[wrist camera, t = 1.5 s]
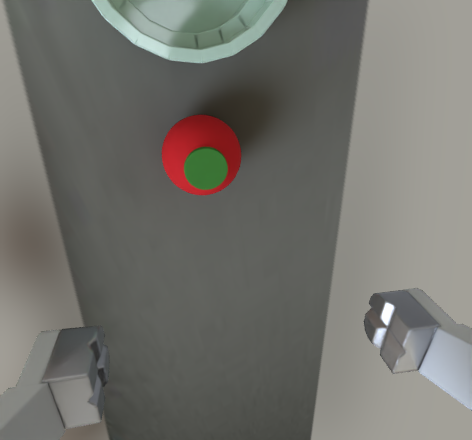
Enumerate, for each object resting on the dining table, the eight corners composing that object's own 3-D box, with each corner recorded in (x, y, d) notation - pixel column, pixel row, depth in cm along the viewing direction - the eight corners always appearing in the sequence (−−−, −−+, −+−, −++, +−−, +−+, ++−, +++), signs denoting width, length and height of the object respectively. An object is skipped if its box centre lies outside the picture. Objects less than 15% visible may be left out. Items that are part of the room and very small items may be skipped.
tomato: (209, 92, 21) (220, 107, 17) (246, 154, 23) (263, 180, 19) (146, 134, 21) (142, 158, 17) (189, 190, 24) (194, 223, 19)
